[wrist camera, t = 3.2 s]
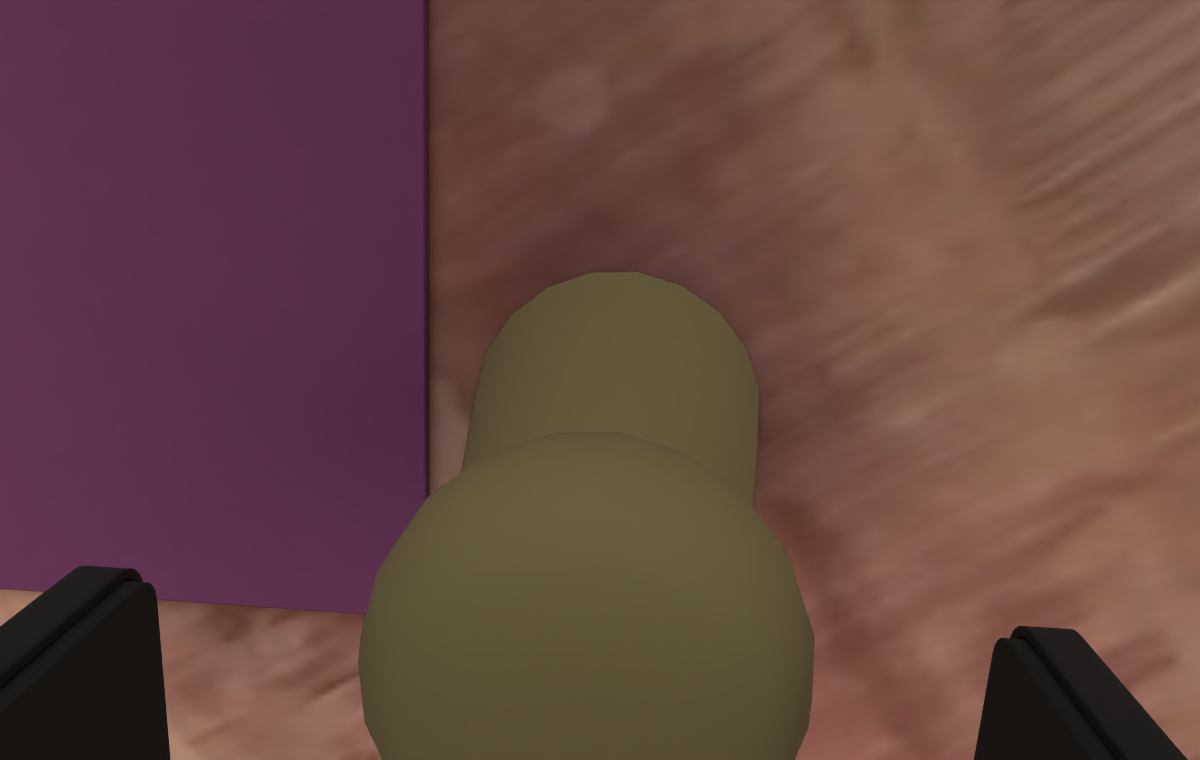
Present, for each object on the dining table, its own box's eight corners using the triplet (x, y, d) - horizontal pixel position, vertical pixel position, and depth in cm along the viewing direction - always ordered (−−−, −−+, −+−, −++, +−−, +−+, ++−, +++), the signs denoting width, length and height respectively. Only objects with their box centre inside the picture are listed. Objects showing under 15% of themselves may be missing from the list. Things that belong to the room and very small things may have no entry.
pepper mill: (462, 522, 21) (265, 944, 10) (489, 250, 19) (287, 421, 9) (734, 561, 21) (819, 1029, 10) (785, 292, 19) (950, 516, 8)
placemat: (-475, -469, 17) (-501, -482, 16) (426, -445, 16) (421, -458, 16) (-247, 563, 22) (-263, 571, 22) (430, 610, 21) (426, 619, 21)
